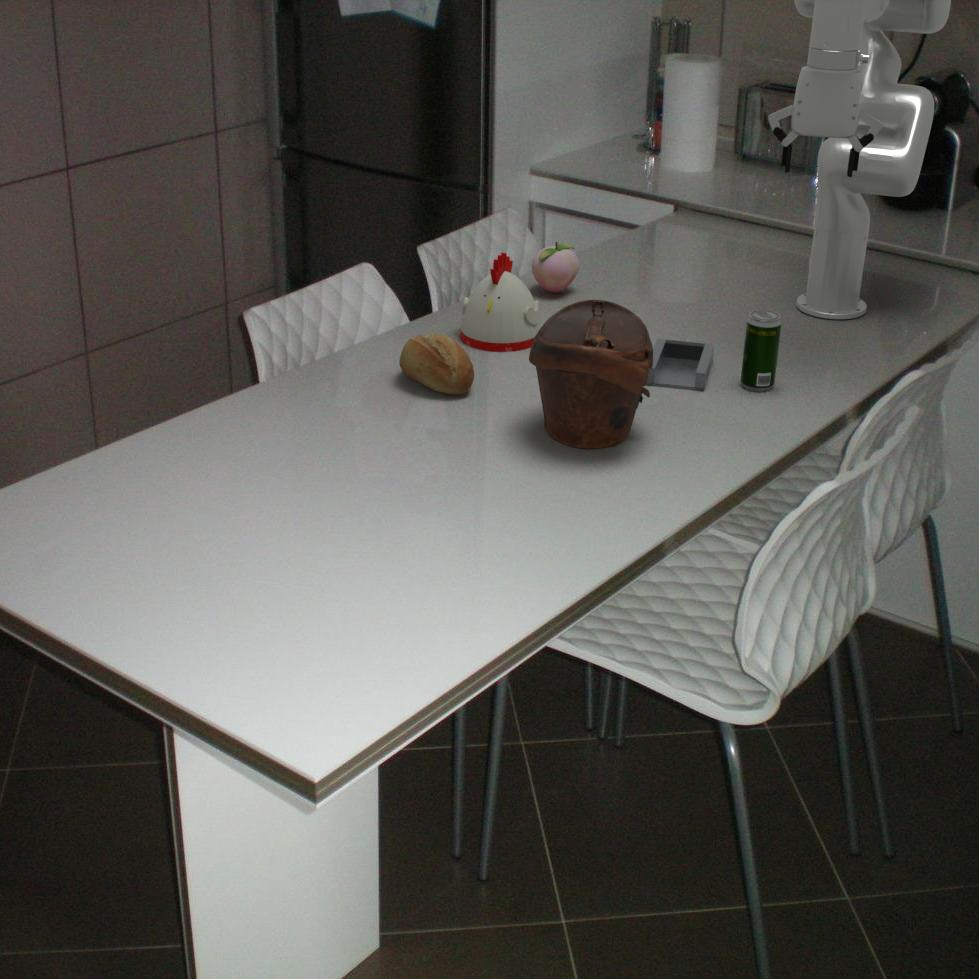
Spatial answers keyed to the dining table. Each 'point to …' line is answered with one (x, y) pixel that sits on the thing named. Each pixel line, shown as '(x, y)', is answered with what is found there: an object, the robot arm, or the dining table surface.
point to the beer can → (761, 350)
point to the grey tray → (680, 364)
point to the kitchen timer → (500, 312)
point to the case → (591, 372)
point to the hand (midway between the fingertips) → (818, 173)
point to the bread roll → (437, 363)
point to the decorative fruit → (555, 267)
